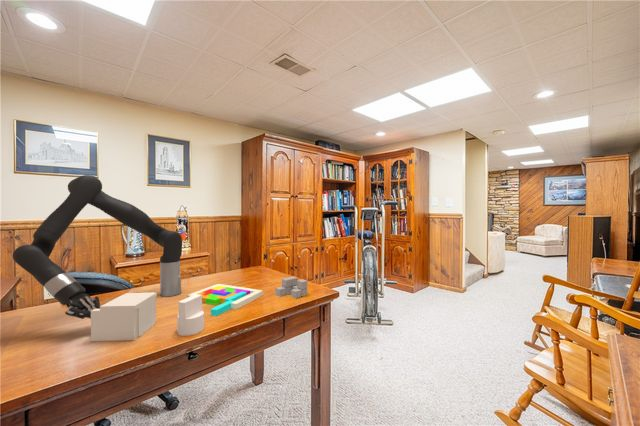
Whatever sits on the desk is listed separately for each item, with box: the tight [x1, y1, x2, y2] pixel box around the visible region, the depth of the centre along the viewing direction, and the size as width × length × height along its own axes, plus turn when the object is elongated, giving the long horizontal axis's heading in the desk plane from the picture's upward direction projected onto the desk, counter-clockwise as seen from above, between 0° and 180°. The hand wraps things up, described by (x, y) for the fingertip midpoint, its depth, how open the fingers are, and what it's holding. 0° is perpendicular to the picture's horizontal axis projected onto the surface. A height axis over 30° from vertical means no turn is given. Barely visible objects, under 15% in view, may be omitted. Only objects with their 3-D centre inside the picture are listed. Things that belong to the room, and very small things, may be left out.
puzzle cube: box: [275, 276, 308, 300], centre depth 140 cm, size 12×12×8 cm
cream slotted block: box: [90, 292, 158, 342], centre depth 98 cm, size 14×14×12 cm
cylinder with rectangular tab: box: [176, 294, 205, 337], centre depth 100 cm, size 9×9×12 cm
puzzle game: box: [186, 283, 264, 317], centre depth 131 cm, size 30×3×30 cm
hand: (101, 321), depth 97 cm, fingers closed
